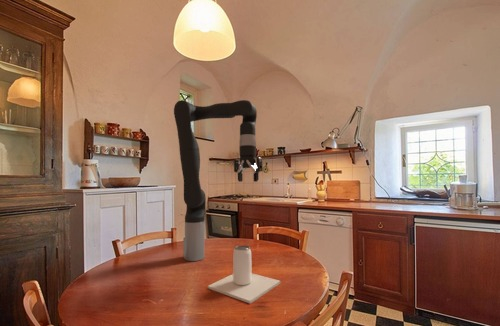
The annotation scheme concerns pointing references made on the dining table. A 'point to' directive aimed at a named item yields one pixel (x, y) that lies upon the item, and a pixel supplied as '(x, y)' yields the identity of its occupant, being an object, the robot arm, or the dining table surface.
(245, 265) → the can
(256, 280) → the tile mat
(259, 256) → the dining table surface
